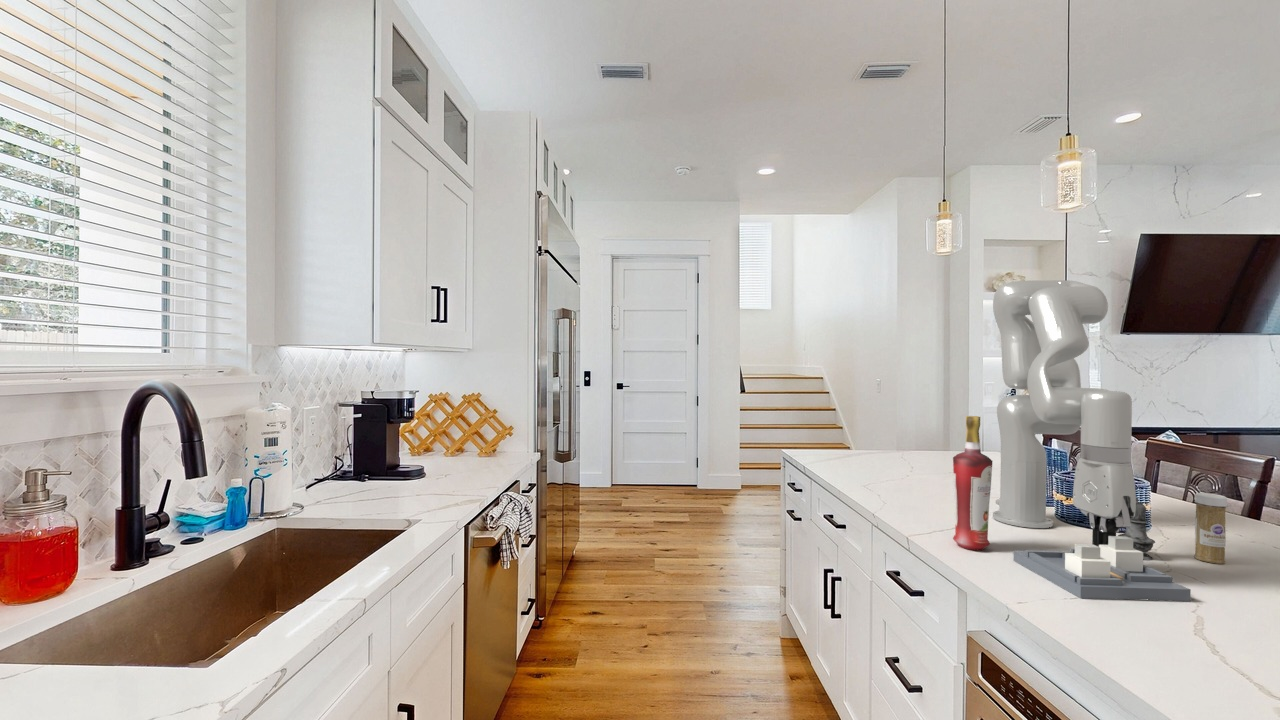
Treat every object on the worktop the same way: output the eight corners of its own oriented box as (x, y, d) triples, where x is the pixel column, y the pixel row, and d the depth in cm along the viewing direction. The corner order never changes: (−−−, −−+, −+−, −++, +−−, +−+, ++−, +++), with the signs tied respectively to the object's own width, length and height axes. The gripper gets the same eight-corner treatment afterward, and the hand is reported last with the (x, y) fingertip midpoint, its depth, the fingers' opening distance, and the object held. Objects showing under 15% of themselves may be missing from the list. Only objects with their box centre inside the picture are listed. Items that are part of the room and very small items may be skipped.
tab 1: (1064, 572, 102) (1065, 541, 102) (1092, 573, 101) (1092, 542, 101) (1081, 581, 98) (1082, 549, 98) (1110, 582, 97) (1110, 550, 97)
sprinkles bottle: (1210, 564, 113) (1211, 497, 113) (1187, 556, 118) (1188, 491, 118) (1232, 564, 113) (1233, 497, 113) (1208, 556, 118) (1209, 492, 118)
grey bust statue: (1162, 561, 114) (1163, 502, 114) (1128, 559, 115) (1129, 500, 115) (1142, 552, 120) (1143, 495, 120) (1110, 549, 121) (1111, 493, 121)
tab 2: (1098, 563, 107) (1099, 533, 107) (1124, 563, 107) (1125, 534, 107) (1115, 571, 103) (1116, 540, 103) (1142, 571, 103) (1143, 541, 103)
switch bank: (1013, 560, 114) (1013, 545, 114) (1105, 562, 113) (1105, 547, 113) (1080, 598, 96) (1080, 580, 96) (1190, 601, 95) (1190, 583, 95)
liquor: (965, 539, 127) (967, 414, 127) (998, 549, 120) (1000, 417, 120) (944, 544, 123) (946, 415, 123) (977, 554, 117) (979, 418, 117)
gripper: (1057, 448, 116) (1056, 538, 116) (1116, 461, 101) (1115, 564, 101) (1095, 449, 116) (1094, 539, 116) (1159, 462, 101) (1158, 565, 101)
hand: (1103, 551), depth 108 cm, fingers closed
